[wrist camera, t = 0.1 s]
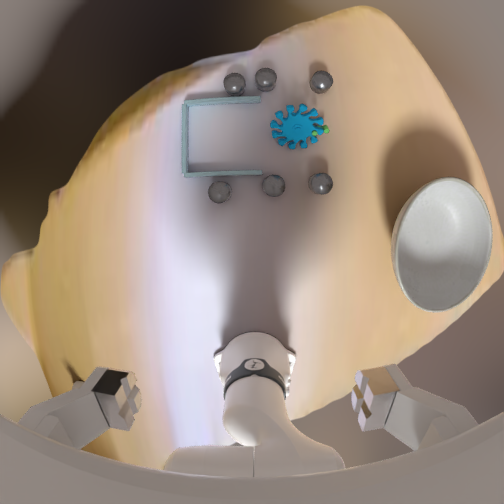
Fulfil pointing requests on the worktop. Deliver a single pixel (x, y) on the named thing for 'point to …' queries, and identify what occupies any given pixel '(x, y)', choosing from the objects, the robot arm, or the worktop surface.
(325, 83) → the spacers
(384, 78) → the worktop surface
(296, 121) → the gear
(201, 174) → the light blue u-shaped piece
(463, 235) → the decorative bowl
